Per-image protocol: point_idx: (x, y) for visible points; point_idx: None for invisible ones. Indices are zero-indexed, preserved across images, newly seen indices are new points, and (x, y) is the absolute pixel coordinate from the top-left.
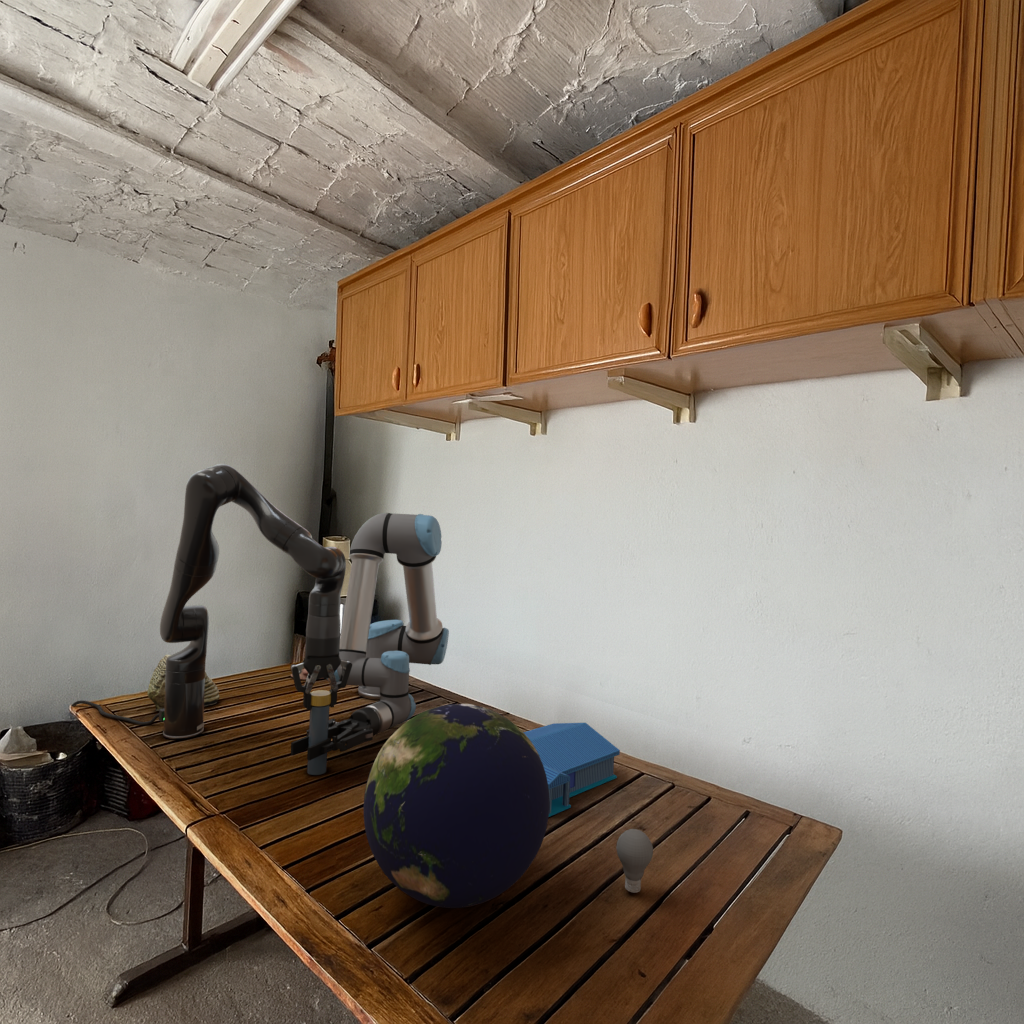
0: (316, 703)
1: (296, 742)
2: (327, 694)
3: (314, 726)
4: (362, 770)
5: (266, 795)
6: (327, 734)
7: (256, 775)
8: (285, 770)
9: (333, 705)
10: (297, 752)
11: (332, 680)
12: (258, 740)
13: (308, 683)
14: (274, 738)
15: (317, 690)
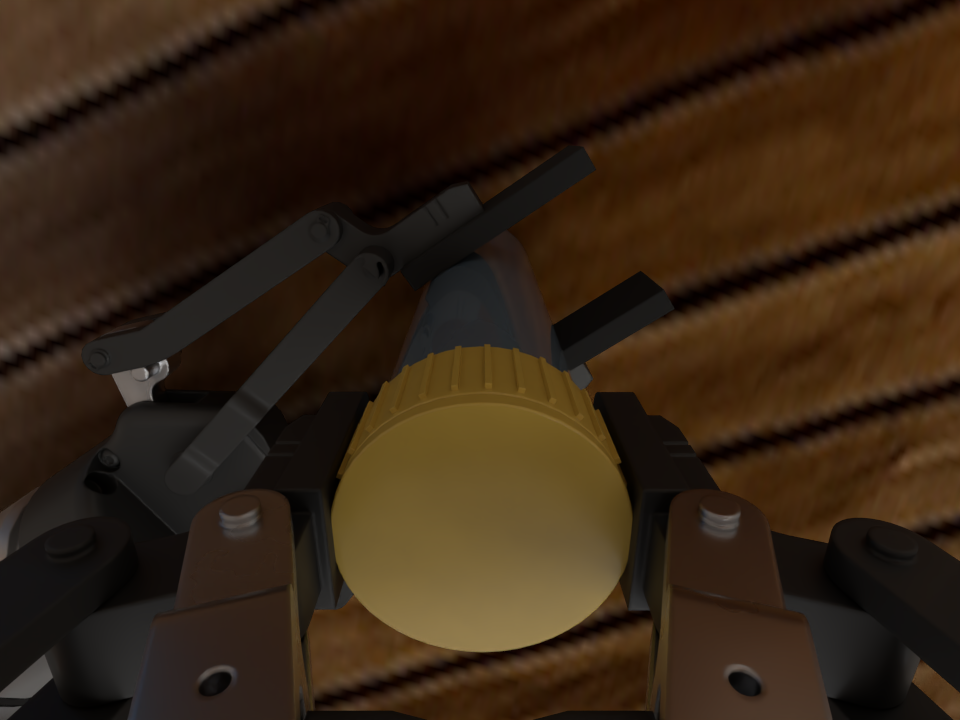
0: (554, 378)
1: (638, 303)
2: (396, 449)
3: (535, 305)
4: (252, 193)
5: (778, 83)
6: (422, 297)
7: (751, 338)
8: (617, 343)
9: (334, 395)
10: (610, 291)
11: (243, 612)
12: (642, 671)
13: (794, 617)
14: (578, 670)
15: (494, 649)
